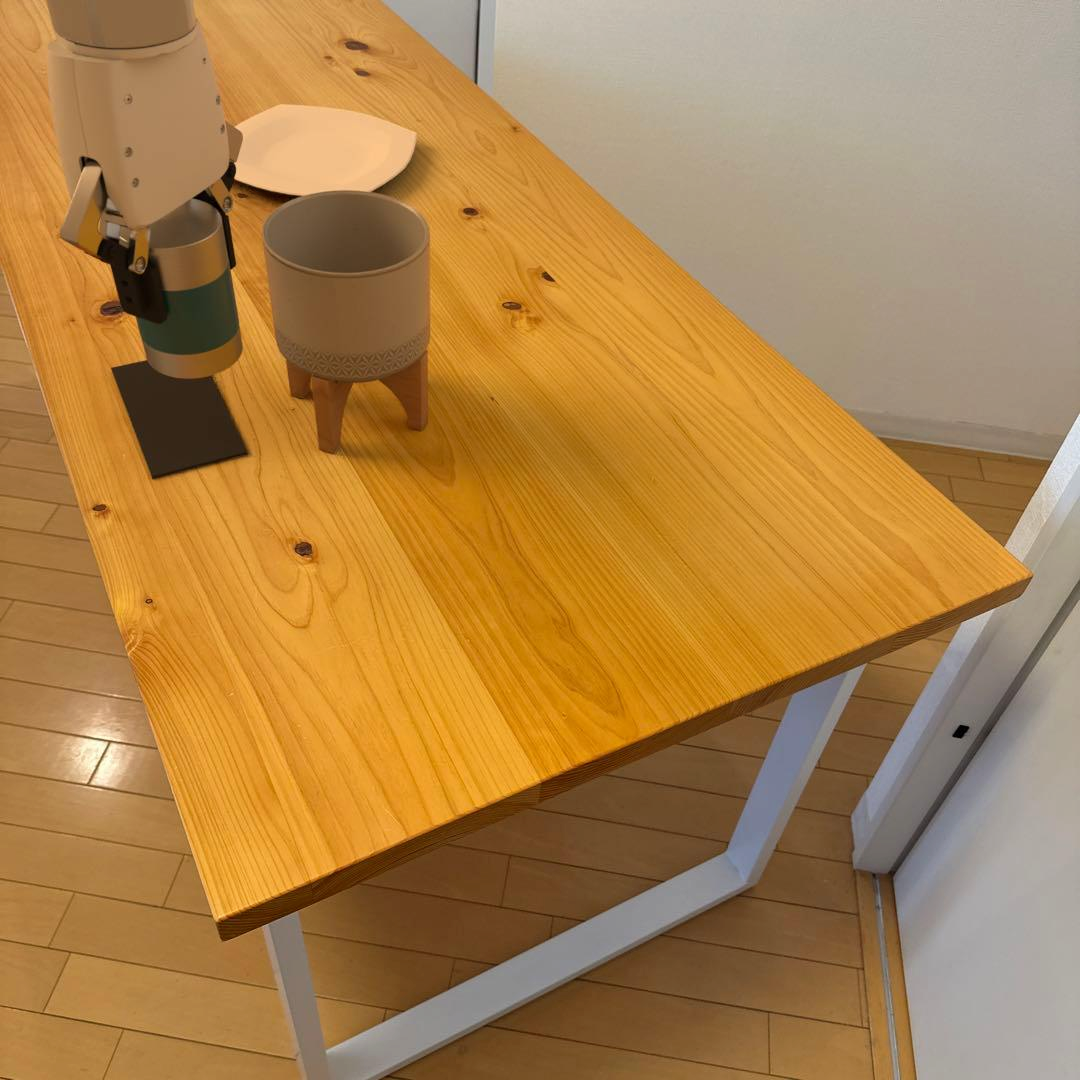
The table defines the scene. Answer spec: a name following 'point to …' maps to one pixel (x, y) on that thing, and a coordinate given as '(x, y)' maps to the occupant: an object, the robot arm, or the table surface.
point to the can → (191, 294)
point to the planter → (350, 300)
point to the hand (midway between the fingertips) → (181, 287)
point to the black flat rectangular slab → (177, 419)
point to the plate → (320, 150)
